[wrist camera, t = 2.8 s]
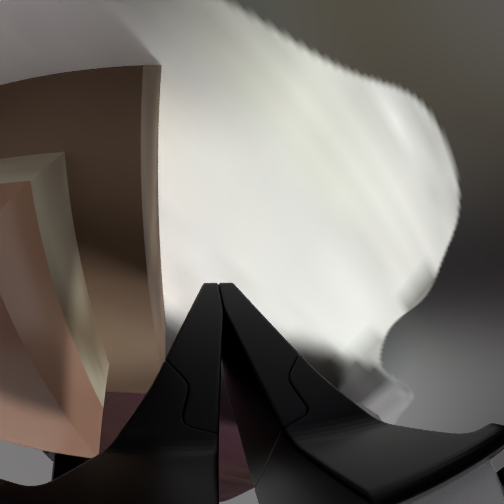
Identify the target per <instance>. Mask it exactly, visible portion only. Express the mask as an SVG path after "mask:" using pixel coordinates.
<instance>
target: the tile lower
mask: <svg viewBox="0 0 504 504" xmlns="http://www.w3.org/2000/svg"><path fill="white" fill-rule="evenodd" d="M22 181H31V187H32V194H33V199H34V205H35V210H36V215H37V220H38V225H39V230H40V234H41V239H42V243H43V247H44V251H45V255H46V259H47V263H48V266H49V270H50V273H51V277H52V280H53V284H54V287H55V290H56V293H57V297H58V300H59V303H60V306H61V309H62V312H63V315H64V318H65V320H66V323H67V326H68V329H69V331H70V334H71V337H72V339H73V342H74V344H75V347H76V349H77V352H78V354H79V357H80V359H81V362H82V364H83V366H84V369H85V371H86V373H87V375H88V378H89V380H90V382H91V384H92V386H93V389H94V391H95V393H96V395H97V397H98V399H99V401H100V403H101V405H102V407H103V405H104V397H105V390H106V382H107V375H108V369H109V362H108V359H107V356H106V353H105V350H104V347H103V344H102V341H101V338H100V335H99V331H98V328H97V324H96V321H95V317H94V314H93V310H92V307H91V303H90V299H89V295H88V291H87V287H86V283H85V279H84V274H83V270H82V265H81V261H80V256H79V251H78V246H77V240H76V235H75V229H74V223H73V217H72V211H71V204H70V197H69V189H68V181H67V171H66V161H65V152H56V153H46V154H36V155H27V156H19V157H11V158H4V159H0V184H1V183H11V182H22Z"/></svg>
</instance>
